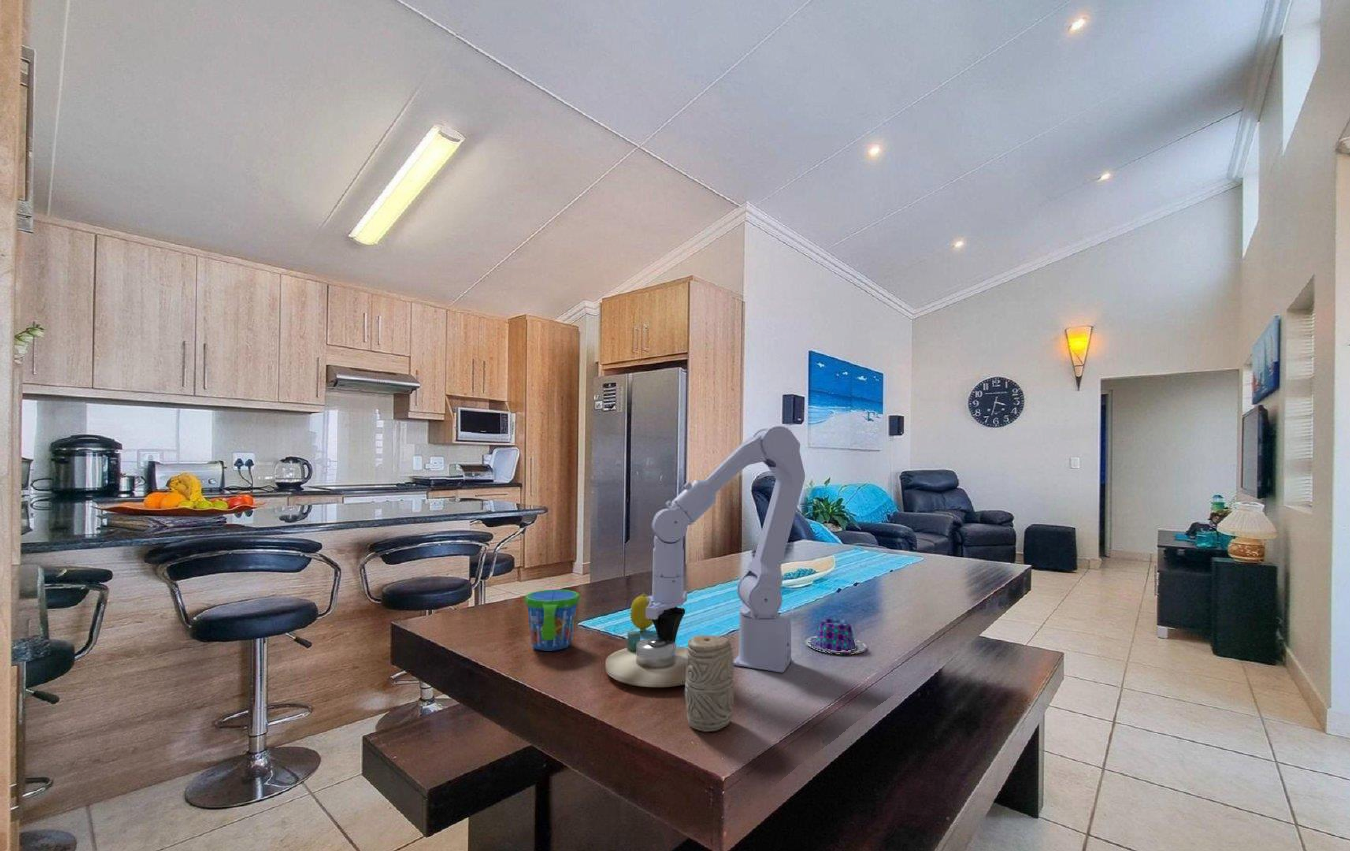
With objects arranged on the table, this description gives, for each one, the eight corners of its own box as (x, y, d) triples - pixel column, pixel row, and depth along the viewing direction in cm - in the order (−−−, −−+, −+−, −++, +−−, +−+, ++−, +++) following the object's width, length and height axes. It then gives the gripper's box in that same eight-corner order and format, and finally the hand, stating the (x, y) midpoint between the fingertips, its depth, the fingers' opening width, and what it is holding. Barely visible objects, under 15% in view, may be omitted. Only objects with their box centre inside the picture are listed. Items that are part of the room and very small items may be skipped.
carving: (674, 726, 80) (675, 639, 81) (707, 710, 86) (708, 628, 86) (709, 742, 76) (710, 650, 76) (742, 723, 81) (743, 637, 82)
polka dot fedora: (873, 646, 118) (873, 620, 118) (855, 662, 108) (855, 634, 108) (818, 635, 125) (818, 611, 125) (796, 649, 115) (796, 623, 115)
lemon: (654, 635, 122) (655, 597, 122) (628, 634, 122) (629, 596, 122) (656, 627, 127) (656, 591, 128) (631, 627, 127) (632, 591, 128)
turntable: (721, 658, 105) (721, 636, 105) (685, 694, 88) (685, 668, 89) (634, 645, 112) (634, 624, 112) (585, 676, 95) (586, 651, 96)
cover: (682, 658, 102) (682, 638, 102) (665, 671, 95) (666, 649, 96) (647, 653, 104) (647, 633, 105) (628, 665, 98) (629, 643, 98)
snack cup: (533, 634, 121) (534, 585, 122) (582, 634, 121) (584, 586, 122) (514, 659, 106) (516, 604, 106) (571, 660, 106) (573, 604, 107)
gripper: (664, 566, 113) (662, 635, 113) (630, 579, 100) (629, 658, 99) (697, 569, 111) (696, 640, 110) (667, 583, 97) (666, 665, 96)
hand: (666, 649), depth 104 cm, fingers closed
